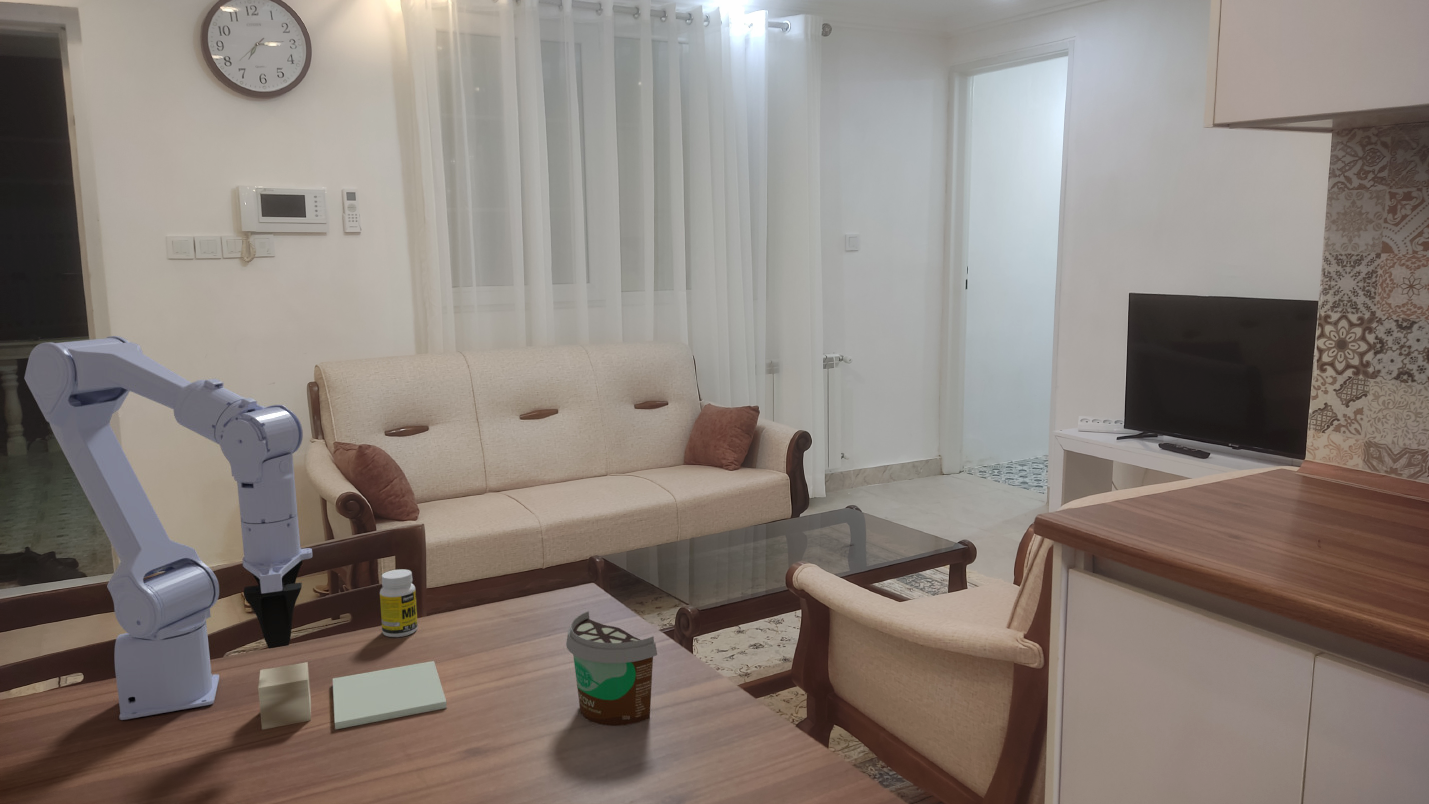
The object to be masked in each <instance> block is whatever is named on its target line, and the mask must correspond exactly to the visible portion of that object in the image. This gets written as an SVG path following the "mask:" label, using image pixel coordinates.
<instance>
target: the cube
mask: <svg viewBox="0 0 1429 804" xmlns="http://www.w3.org/2000/svg"><path fill="white" fill-rule="evenodd" d="M308 663H309V662H308V661H305V662H300V663H293V664H288V665H281V666H276V667H270V668H264V669H260V671H259V677H258V678H259V679H258V686H257V690H258V700H259V710H260V711H259V712H260V723H261V730H267V729H272V728H277V727H278V728H279V727H282V726H290V725H293V724H299V723H304V722H309V721H311V720H312V719H311V718H312V701H311V700H312V699H311V685H310V674H309V673H310V672H309V665H308Z"/></svg>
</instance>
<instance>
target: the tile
mask: <svg viewBox="0 0 1429 804" xmlns="http://www.w3.org/2000/svg"><path fill="white" fill-rule="evenodd" d="M332 693H333V694H332V695H333V697H332V698H333V714H334V716H333V717H334V730H339V729H345V728H350V727H355V726H361V725H365V724H372V723H376V722H382V721H385V720H393V719H396V718H401V717H406V716H407V717H408V716H412V715H417V714H422V713H427V712H433V711H437V710H443V709H447V707H448V706H447V699H446V694H445V692H444V689H443V686H442V683H441V680H440V676H439V673H438V670H437V667H436V663H435V660H433V661H426V662H420V663H414V664H409V665H402V666H397V667H391V668H387V669H386V668H385V669H380V670H379V669H378V670H373V671H370V672H363V673H358V674H357V673H356V674H351V675H345V676H339V677H333V678H332Z"/></svg>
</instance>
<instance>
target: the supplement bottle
mask: <svg viewBox="0 0 1429 804" xmlns="http://www.w3.org/2000/svg"><path fill="white" fill-rule="evenodd" d="M413 580H414V579H413V572H412V571H411V570H410V569H406V568H405V569H402V568H401V569H400V568H399V569H393V570H389V571H386V572H384V573H383V574H382V575H381V586H382V587H381V588H380V590H379V602H380V614H381V630H382V631H381V632H382V634H383V636H385V637H388V638H389V637H390V638H401V637H407V636H410V635H411V634H414V633H415V632H416V631H417V629H418V626H419V625H418V612H417V595H416V593H417V591H416V586H415V584H413Z"/></svg>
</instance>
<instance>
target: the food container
mask: <svg viewBox="0 0 1429 804" xmlns="http://www.w3.org/2000/svg"><path fill="white" fill-rule="evenodd" d="M565 645H566V648H567V650H568V651H569V653H571V654H572V656H573V664H574V672H575V679H576V688H577V694H578V696H577V697H578V702H579V703H578V704H579V710H580V714H581V715H582V717H583V718H584V719H585V720H587V721H588V722H591V723H593V724H597V725H601V726H611V727H617V726H629V725H634V724H638V723H642V722H644V721H646V720H648V719H650V718H651V706H652V705H651V702H652V700H651V699H652V687H653V686H652V685H653V684H652V681H653V666H654V665H653V663H654V657H656V656H658V651H657V645H656V642H655V638H654V635H653V636H649V637H647V638H644V639H640V638H638V637H636V636H634V635H632V634H630V633H629V632H627V631H626V630H623V629H622V628H620V627H617V626H612V625H606V624H602V623H600V622H598V621H595V620H592V619H590V611H589V610H588V611H585V612H583V613H581V614H579V615H577V616H576V617H575V618H574V619H573V620H572V621H571V624H570V626H569V628H568V632H567V638H566V643H565Z"/></svg>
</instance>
